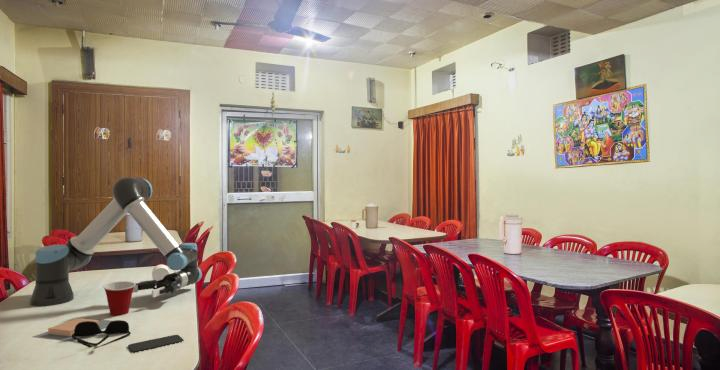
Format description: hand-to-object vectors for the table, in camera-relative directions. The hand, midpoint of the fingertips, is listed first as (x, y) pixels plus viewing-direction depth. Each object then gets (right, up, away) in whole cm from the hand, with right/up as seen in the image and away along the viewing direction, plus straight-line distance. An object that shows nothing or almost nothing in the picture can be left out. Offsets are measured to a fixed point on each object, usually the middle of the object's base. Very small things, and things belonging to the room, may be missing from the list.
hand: (138, 292), depth 172 cm
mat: (-7, -7, -26) cm, 27 cm away
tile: (-6, -4, -22) cm, 23 cm away
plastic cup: (-3, -7, -8) cm, 11 cm away
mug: (-12, -7, +50) cm, 52 cm away
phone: (+25, -7, -37) cm, 46 cm away
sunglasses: (+6, -7, -37) cm, 39 cm away
